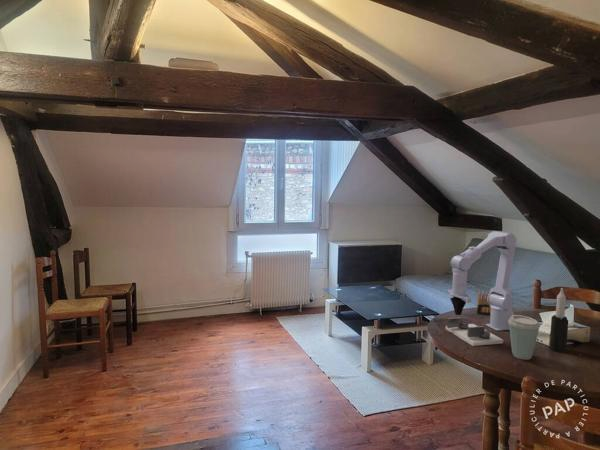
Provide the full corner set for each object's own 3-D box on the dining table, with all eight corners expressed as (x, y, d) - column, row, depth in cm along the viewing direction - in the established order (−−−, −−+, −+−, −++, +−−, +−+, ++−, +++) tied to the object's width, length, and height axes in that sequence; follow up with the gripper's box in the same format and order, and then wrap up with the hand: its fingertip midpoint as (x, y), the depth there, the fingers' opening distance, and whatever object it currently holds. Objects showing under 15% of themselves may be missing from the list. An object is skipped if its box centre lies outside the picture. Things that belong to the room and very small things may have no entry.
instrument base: (473, 326, 190) (473, 322, 190) (503, 343, 171) (503, 338, 171) (445, 328, 187) (445, 324, 187) (472, 345, 168) (473, 340, 168)
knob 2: (485, 334, 176) (486, 324, 175) (492, 338, 172) (492, 327, 171) (465, 336, 174) (465, 325, 173) (471, 339, 170) (472, 329, 169)
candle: (563, 348, 166) (567, 287, 164) (566, 352, 162) (571, 290, 159) (548, 346, 168) (553, 285, 165) (551, 351, 163) (556, 288, 161)
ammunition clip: (499, 314, 209) (500, 291, 208) (500, 315, 207) (501, 292, 206) (476, 313, 211) (477, 290, 210) (477, 314, 209) (478, 290, 208)
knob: (464, 325, 187) (464, 315, 187) (470, 328, 183) (470, 318, 182) (444, 326, 185) (445, 316, 185) (450, 330, 181) (450, 320, 180)
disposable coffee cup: (537, 354, 160) (540, 316, 159) (538, 364, 151) (541, 324, 149) (506, 348, 165) (509, 312, 164) (505, 359, 156) (508, 320, 154)
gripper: (441, 280, 184) (440, 310, 186) (461, 288, 170) (459, 320, 171) (456, 279, 186) (454, 309, 187) (476, 287, 172) (474, 319, 173)
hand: (458, 314), depth 179 cm, fingers closed
